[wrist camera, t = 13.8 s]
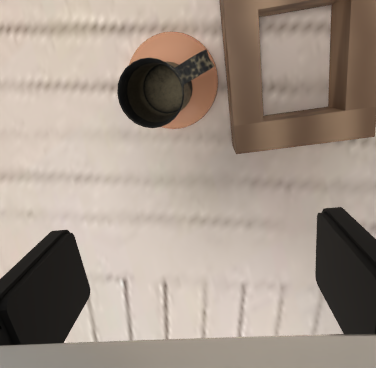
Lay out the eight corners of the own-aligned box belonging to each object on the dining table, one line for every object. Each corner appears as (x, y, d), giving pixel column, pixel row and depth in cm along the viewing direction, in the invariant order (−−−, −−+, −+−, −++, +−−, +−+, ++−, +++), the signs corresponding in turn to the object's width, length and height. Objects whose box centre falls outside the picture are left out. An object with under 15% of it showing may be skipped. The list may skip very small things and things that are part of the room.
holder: (365, -38, 26) (392, -57, 23) (354, 129, 32) (374, 136, 28) (218, -11, 28) (221, -25, 24) (232, 145, 33) (236, 154, 30)
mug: (158, 123, 32) (134, 148, 21) (132, 79, 31) (92, 80, 19) (219, 88, 31) (229, 94, 19) (195, 39, 29) (190, 15, 18)
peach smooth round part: (212, 25, 29) (212, 24, 28) (221, 121, 32) (222, 122, 32) (119, 41, 30) (117, 40, 29) (138, 133, 33) (137, 134, 33)
